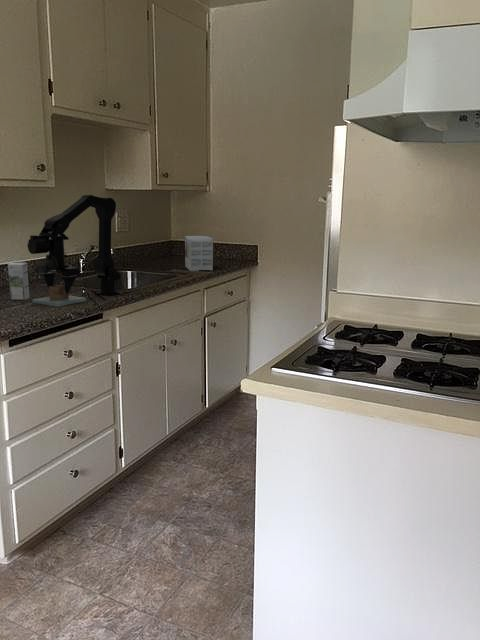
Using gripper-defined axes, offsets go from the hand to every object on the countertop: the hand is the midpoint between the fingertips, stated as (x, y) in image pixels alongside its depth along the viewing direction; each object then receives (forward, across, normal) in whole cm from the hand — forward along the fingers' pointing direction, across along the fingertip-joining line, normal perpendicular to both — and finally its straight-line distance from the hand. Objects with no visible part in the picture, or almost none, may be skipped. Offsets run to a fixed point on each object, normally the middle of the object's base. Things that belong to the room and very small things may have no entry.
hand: (59, 292), depth 215 cm
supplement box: (+4, -14, +112) cm, 113 cm away
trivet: (+4, 0, 0) cm, 4 cm away
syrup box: (+4, -17, -5) cm, 18 cm away
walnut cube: (+2, 0, 0) cm, 3 cm away
